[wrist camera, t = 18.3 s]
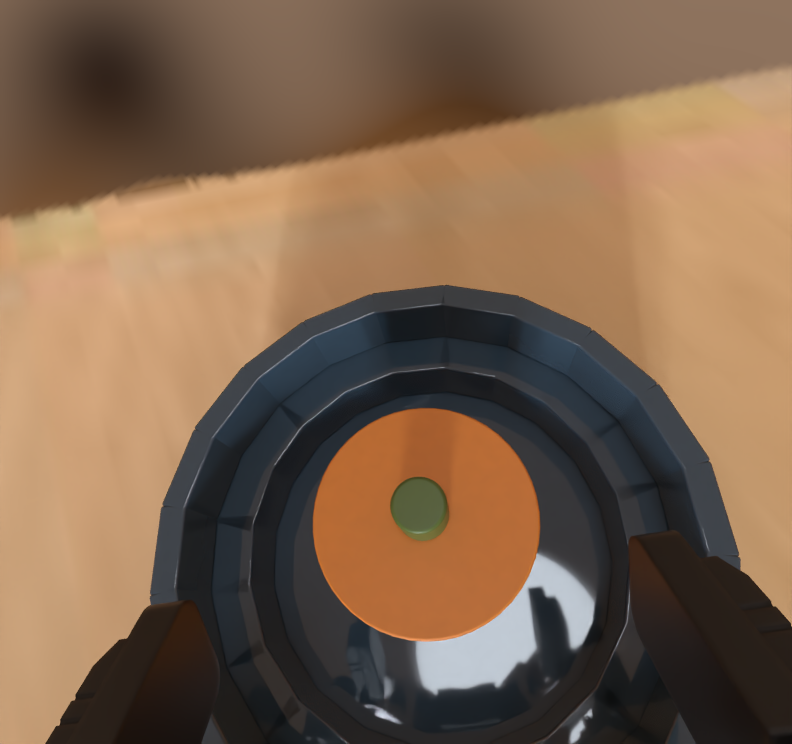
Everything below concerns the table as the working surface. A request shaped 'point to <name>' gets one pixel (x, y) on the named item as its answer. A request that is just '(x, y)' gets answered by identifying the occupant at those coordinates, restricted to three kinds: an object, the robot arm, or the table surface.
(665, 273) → the table surface
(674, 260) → the table surface
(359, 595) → the squash
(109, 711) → the robot arm
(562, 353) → the bowl
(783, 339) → the table surface
